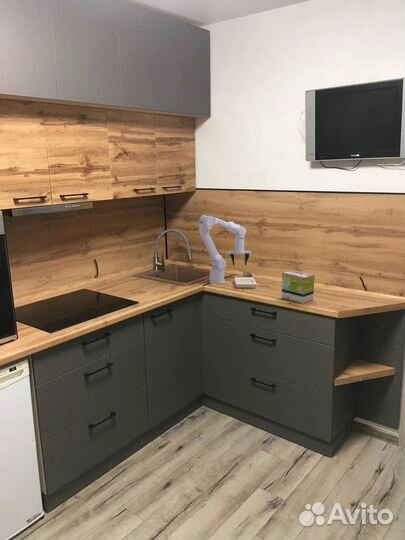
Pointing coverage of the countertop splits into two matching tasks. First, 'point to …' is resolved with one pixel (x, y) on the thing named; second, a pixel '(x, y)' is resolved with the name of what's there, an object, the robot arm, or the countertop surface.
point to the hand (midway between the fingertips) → (239, 265)
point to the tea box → (297, 286)
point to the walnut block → (247, 274)
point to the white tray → (245, 282)
